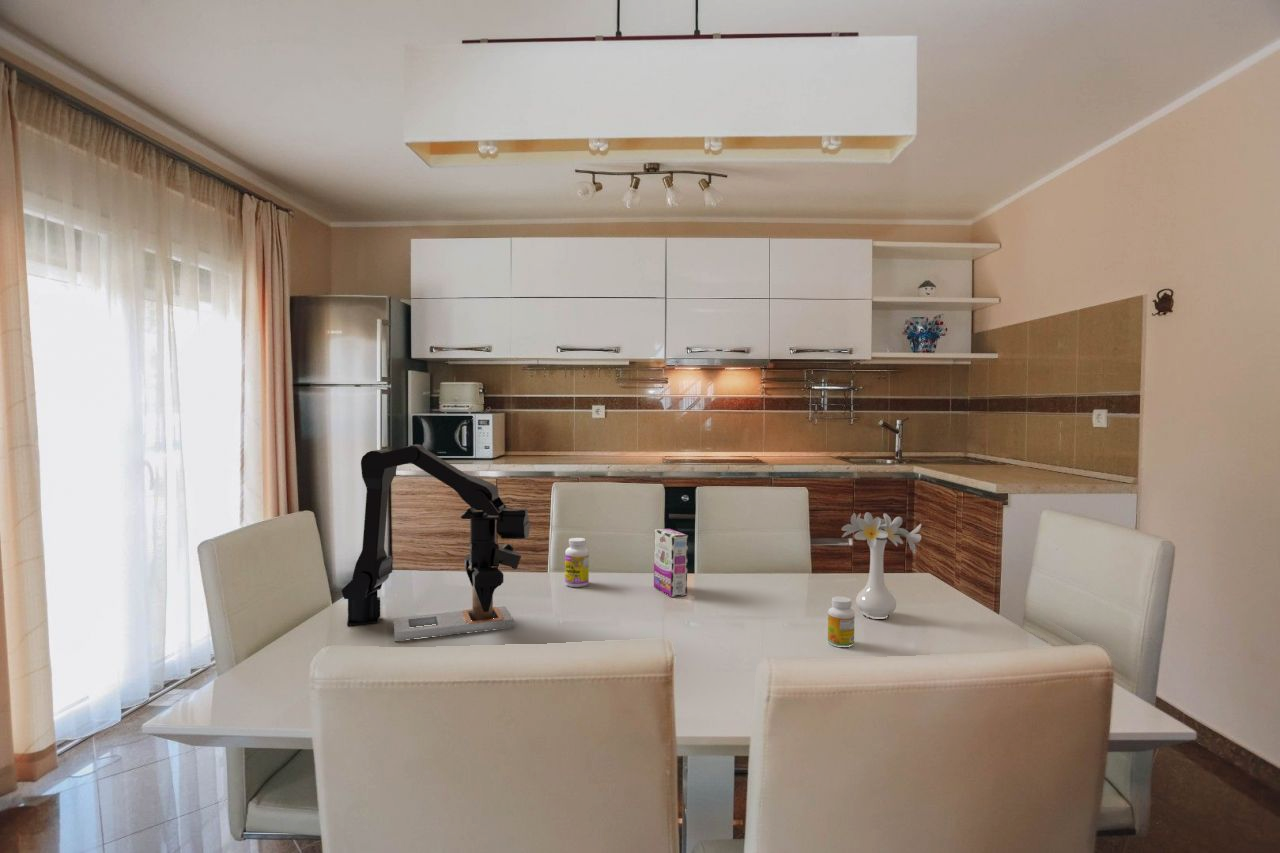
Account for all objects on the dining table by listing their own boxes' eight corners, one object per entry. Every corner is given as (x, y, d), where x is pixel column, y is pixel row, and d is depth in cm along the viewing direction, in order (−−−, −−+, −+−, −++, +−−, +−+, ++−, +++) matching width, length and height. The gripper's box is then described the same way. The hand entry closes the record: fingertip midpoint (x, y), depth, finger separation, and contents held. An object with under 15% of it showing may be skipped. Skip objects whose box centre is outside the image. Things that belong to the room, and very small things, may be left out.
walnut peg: (473, 628, 145) (473, 588, 145) (471, 622, 149) (471, 583, 149) (494, 626, 147) (494, 586, 147) (490, 620, 151) (491, 581, 151)
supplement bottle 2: (823, 639, 141) (824, 595, 140) (848, 639, 141) (848, 595, 141) (833, 648, 135) (833, 602, 135) (858, 648, 136) (859, 602, 135)
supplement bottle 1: (560, 585, 180) (560, 540, 180) (573, 580, 186) (573, 536, 185) (580, 589, 177) (580, 542, 176) (593, 583, 183) (593, 538, 182)
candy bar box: (688, 596, 172) (689, 534, 171) (671, 598, 170) (672, 536, 169) (668, 585, 182) (669, 527, 181) (652, 587, 180) (653, 528, 179)
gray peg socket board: (394, 642, 136) (394, 631, 136) (393, 626, 146) (393, 617, 145) (513, 627, 146) (513, 618, 146) (505, 614, 155) (505, 605, 155)
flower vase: (927, 625, 151) (930, 518, 150) (848, 624, 151) (850, 517, 150) (904, 607, 164) (906, 509, 163) (831, 606, 164) (833, 508, 163)
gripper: (526, 543, 142) (526, 614, 142) (510, 528, 159) (510, 591, 160) (475, 547, 138) (474, 620, 138) (464, 531, 155) (463, 595, 155)
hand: (482, 605), depth 148 cm, fingers open, 9 cm apart
